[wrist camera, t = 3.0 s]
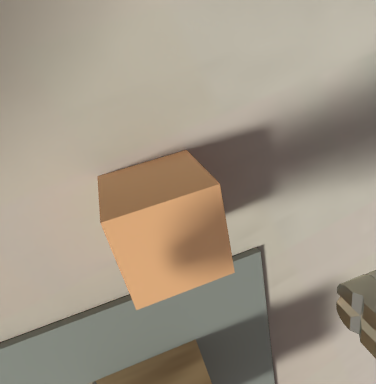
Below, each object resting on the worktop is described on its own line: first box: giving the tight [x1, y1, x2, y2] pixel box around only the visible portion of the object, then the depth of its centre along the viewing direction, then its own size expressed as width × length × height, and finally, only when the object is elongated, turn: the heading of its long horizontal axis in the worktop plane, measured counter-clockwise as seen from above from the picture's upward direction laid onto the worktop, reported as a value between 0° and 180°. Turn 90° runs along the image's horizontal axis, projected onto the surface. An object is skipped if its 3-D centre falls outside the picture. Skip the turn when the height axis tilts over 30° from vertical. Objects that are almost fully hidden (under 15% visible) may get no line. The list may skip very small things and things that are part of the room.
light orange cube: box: [98, 150, 235, 310], centre depth 15 cm, size 5×5×5 cm
